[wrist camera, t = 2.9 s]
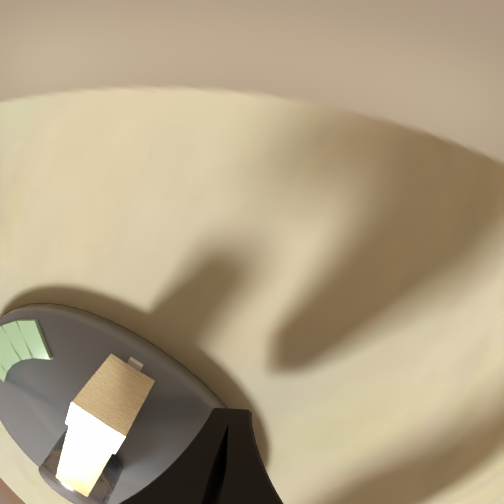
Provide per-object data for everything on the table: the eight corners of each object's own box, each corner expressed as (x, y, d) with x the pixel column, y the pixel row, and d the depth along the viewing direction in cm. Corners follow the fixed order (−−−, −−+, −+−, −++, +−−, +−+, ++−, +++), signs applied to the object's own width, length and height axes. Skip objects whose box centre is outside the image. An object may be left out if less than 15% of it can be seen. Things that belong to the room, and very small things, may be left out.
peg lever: (114, 483, 14) (96, 522, 10) (58, 449, 13) (34, 484, 10) (179, 390, 11) (153, 452, 8) (92, 336, 11) (47, 383, 8)
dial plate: (323, 455, 14) (326, 472, 12) (154, 529, 17) (151, 539, 16) (31, 224, 11) (14, 229, 10) (-20, 398, 15) (-29, 406, 14)
